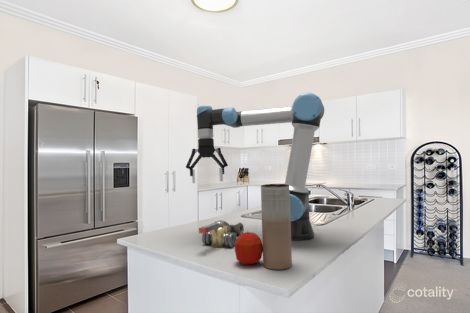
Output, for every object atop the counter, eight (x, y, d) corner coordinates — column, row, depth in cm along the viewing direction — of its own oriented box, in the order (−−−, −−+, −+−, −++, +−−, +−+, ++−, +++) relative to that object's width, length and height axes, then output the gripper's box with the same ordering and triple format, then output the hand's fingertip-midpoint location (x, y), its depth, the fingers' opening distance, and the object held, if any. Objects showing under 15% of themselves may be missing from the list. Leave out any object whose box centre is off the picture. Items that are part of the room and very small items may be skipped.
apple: (241, 270, 98) (241, 235, 98) (230, 261, 107) (229, 229, 107) (268, 265, 102) (267, 231, 102) (255, 256, 111) (254, 226, 112)
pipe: (220, 250, 146) (206, 241, 135) (214, 235, 152) (200, 225, 141) (248, 234, 145) (236, 223, 134) (241, 219, 151) (229, 208, 140)
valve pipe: (237, 245, 128) (236, 226, 128) (229, 249, 121) (229, 230, 121) (210, 241, 134) (209, 224, 134) (201, 245, 128) (201, 227, 128)
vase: (259, 268, 99) (257, 186, 99) (267, 259, 108) (264, 183, 109) (289, 271, 95) (286, 186, 96) (294, 261, 105) (291, 183, 105)
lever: (217, 225, 131) (217, 220, 131) (225, 225, 129) (225, 221, 129) (197, 232, 117) (197, 227, 117) (206, 233, 115) (206, 228, 115)
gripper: (228, 138, 149) (230, 180, 149) (178, 139, 142) (180, 183, 141) (232, 137, 142) (234, 180, 142) (180, 138, 135) (182, 184, 134)
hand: (207, 182), depth 142 cm, fingers open, 13 cm apart
